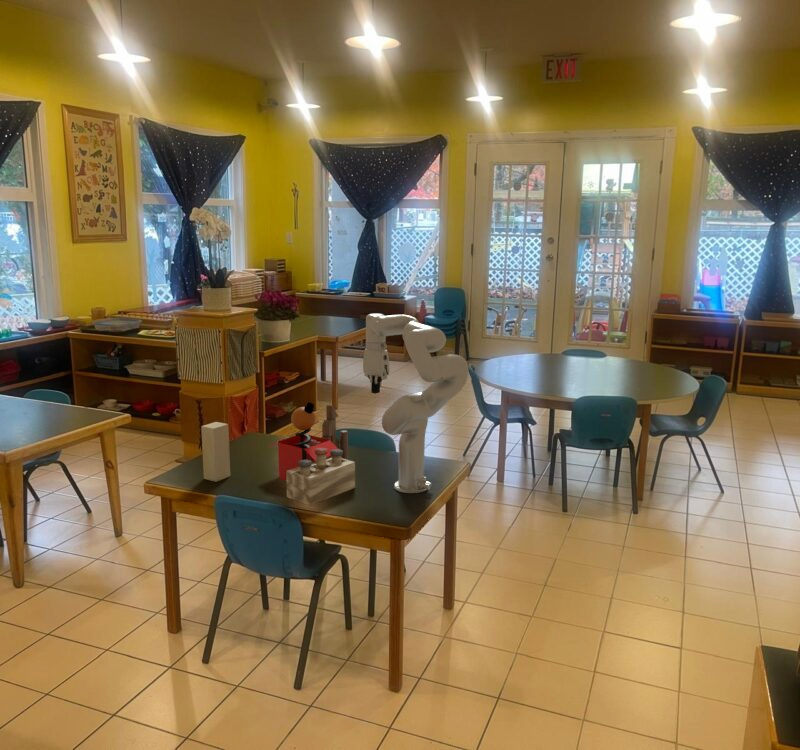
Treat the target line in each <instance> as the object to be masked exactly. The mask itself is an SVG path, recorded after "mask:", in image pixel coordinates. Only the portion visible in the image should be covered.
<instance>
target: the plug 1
mask: <svg viewBox="0 0 800 750" xmlns="http://www.w3.org/2000/svg"><path fill="white" fill-rule="evenodd" d="M298 463H299V466H300V474H301V475H304V476H306V475H309V474H310V466H311V465H312V461H311V460H300V461H299V462H298Z"/></svg>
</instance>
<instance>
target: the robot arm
mask: <svg viewBox="0 0 800 750" xmlns="http://www.w3.org/2000/svg"><path fill="white" fill-rule="evenodd" d="M399 335H401V336H402V340H403V341H404V343H405V344H404V346H405V349H406V351H407V353H408V355H409V357H410V360H411V361H412V363H413V365H414V368H415V370H416V371H417V373H418V375H419V377H420V378H421V379H422V380H423V381H425V382H426V383H427V382H428V383H431V384H430V385H429V386H428V387H427V388H426V389H424V390H423V391H419V392H414V393H410V394H405V395H402V396H400V397H398V398H397V399H396V400H395V401H394V402H393V403H392V404H391V405H390V406H389V407H388V408H387V409H386V410H385V411H384V412H383V415H382V418H381V426H382V429H383V431H384V432H385V433H386V434H388V435H391V436H396V435H400V436H399V441H398V480H397V481H395V483H394V485H393V488H394V489H395V490H396V491H397V492H399V493H404V494H419V493H423V492H425V491H427V490H430V489H431V487H432V485H433V483H432V482H430V481H427V477H426V476H425V449H426V448H425V445H426V433H427V427H428V422H429V418H432V417H433V416H434V415H436V414H437V413H438V412H439V411H440V410H441V409H443V408H444V406H446V405H447V404H448V403H449V402H450V401H451V400H452V399H453V398H454V397H456V396H457V395H458V394H459V393H460V392H461V391H463V389H464V388H465V386H466V382H467V381H468V377H469V366H468V362H467V360H466V359H465V358H464V357H463V356H461V355H459V354H452V353H450V354H443V355H437V356H436V355H435V356H432V355H431V354H430V353H435V352H439V351H440V350H442V349H443V348H444V347H445V345H446V342H447V338H446V337H447V336H446V334H445V332H443V330H441V329H440V328H437V327H435V326H431V325H428V324H423V323H420V322H419V320H418V319H417V318H416V317H413V316H411V315H407V314H391V315H385V314H383V313H369V314H367V315H366V317H365V349H364V352H363V359H362V360H363V361H362V363H363V364H362V371H363V373H364V376H365V377H366V378H368V379H369V383H371V385H370V386H371V387H370V388H371V394H380V392H381V383H382V381H384V380H387V379H388V376H389V375H390V359H389V358H390V357H389V352H388V349H387V348H388V345H387V343H386V339H387V337H389V336H399Z"/></svg>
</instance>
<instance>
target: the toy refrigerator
mask: <svg viewBox="0 0 800 750" xmlns="http://www.w3.org/2000/svg"><path fill="white" fill-rule="evenodd" d="M200 427H201V428H200V429H201V430H200V431H201V443H202V445H201V446H202V447H201V448H202V449H201V450H202V467H203V469H202V470H203V478H204V480H208V481H211V482H220V481H223V480H225V479H227V478H229V477H231V460H230V459H231V458H230V456H231V455H230V433H229V428H230V427H229V424H228V423H225V422H219V421H214V422H211V423H208V424H205V425H201V426H200Z"/></svg>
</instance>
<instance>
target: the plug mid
mask: <svg viewBox="0 0 800 750" xmlns="http://www.w3.org/2000/svg"><path fill="white" fill-rule="evenodd" d="M315 454H316V469H320V470H323V469H326V454H327V449H326V448H317V449H315Z"/></svg>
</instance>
